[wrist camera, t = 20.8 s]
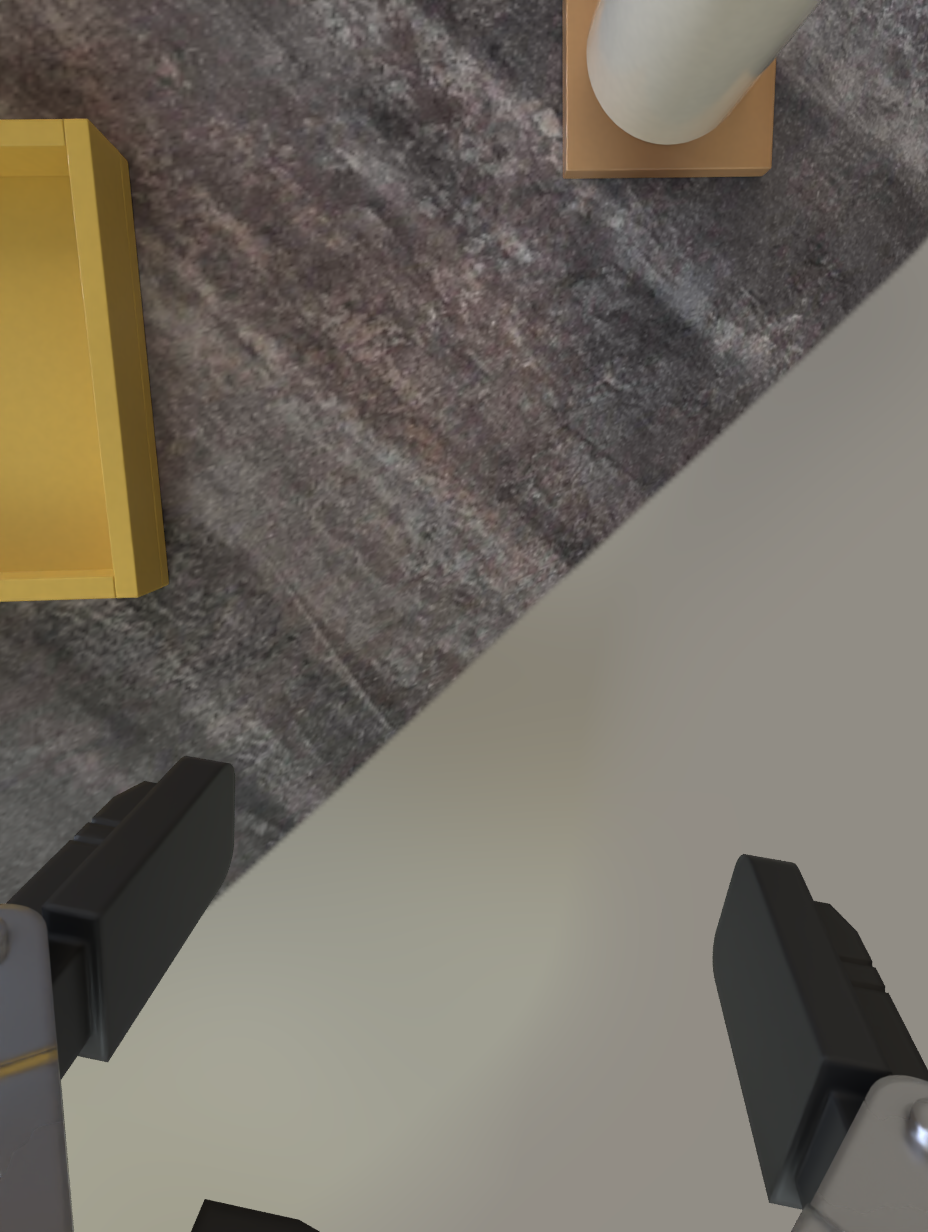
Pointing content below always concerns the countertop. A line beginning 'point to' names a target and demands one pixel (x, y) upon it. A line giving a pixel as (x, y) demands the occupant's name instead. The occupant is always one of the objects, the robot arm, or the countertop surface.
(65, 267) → the tray
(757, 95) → the trivet
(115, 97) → the countertop surface
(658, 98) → the jar with grey lid
